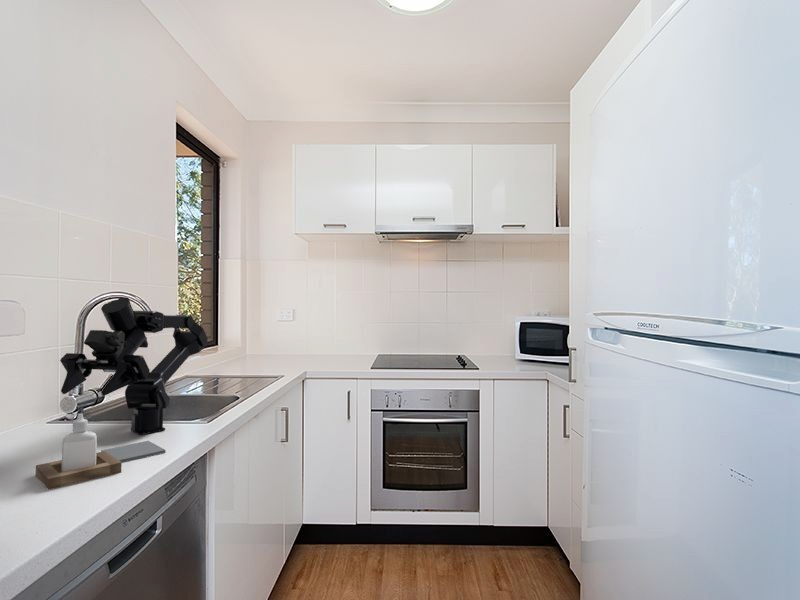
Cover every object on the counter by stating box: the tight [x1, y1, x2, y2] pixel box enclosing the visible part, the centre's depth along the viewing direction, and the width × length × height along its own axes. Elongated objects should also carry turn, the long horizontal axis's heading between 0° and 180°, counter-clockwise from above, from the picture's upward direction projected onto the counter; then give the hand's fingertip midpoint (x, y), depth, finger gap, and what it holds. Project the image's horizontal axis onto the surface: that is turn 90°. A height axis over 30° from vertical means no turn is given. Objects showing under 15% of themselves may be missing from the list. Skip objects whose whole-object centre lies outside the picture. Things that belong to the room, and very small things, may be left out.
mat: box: [100, 440, 166, 463], centre depth 104 cm, size 10×10×1 cm
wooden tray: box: [35, 451, 123, 490], centre depth 91 cm, size 12×10×2 cm
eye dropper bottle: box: [61, 413, 98, 473], centre depth 91 cm, size 4×6×12 cm
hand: (82, 393), depth 98 cm, fingers open, 9 cm apart
